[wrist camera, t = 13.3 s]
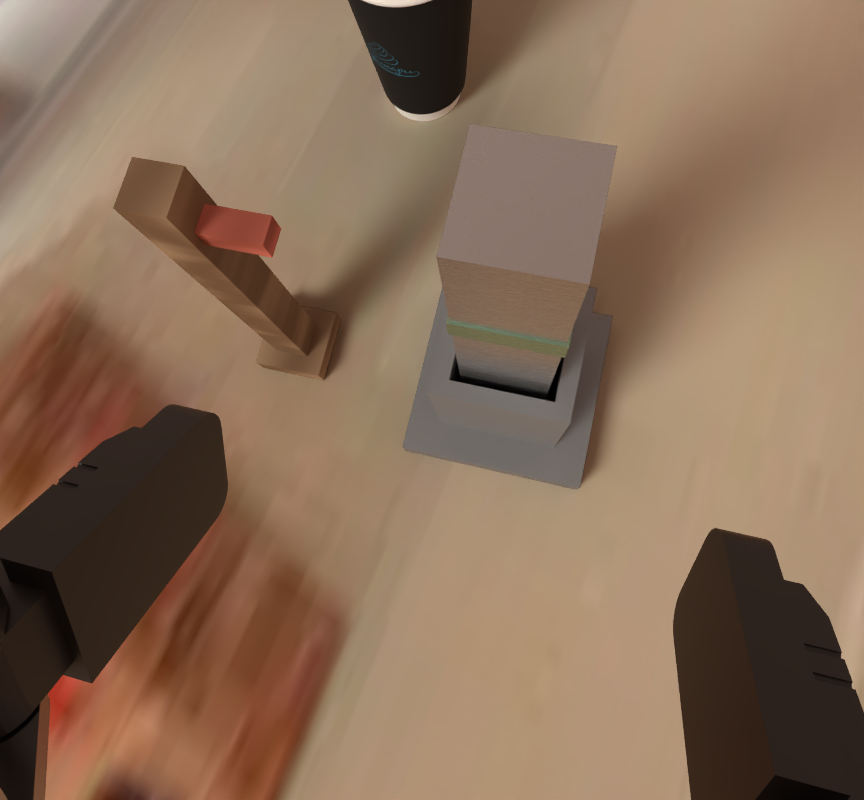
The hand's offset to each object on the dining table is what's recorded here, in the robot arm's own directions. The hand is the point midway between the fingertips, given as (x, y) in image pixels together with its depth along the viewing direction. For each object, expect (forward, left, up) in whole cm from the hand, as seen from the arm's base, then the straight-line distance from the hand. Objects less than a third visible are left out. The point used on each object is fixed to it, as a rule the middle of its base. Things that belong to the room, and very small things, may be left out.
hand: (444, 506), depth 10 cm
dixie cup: (-28, +8, -26) cm, 39 cm away
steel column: (-7, +5, -19) cm, 21 cm away
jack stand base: (-7, +5, -26) cm, 27 cm away
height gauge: (-14, -6, -26) cm, 30 cm away
